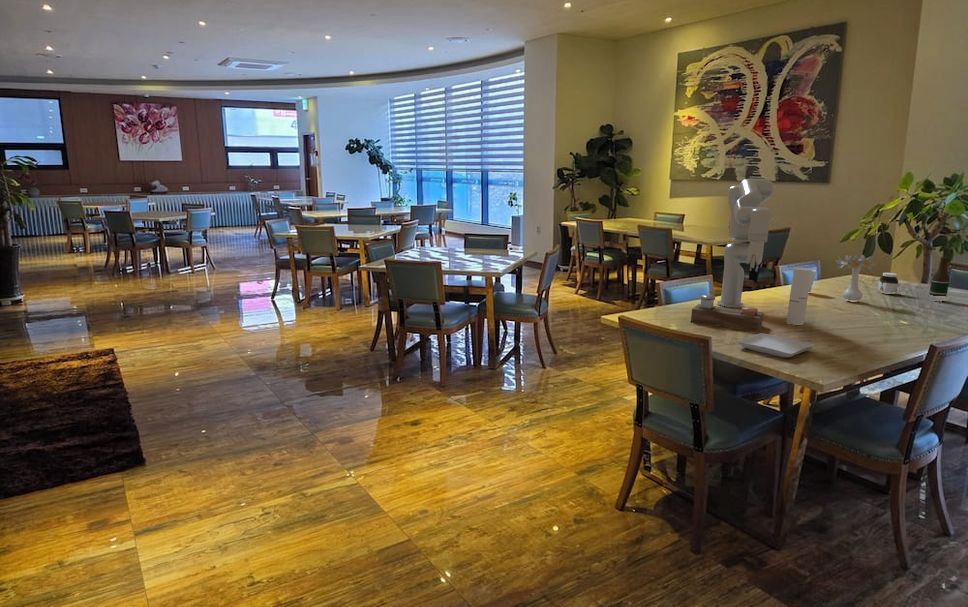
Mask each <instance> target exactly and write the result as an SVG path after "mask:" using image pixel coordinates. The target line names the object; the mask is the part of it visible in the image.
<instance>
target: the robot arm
mask: <svg viewBox="0 0 968 607" xmlns="http://www.w3.org/2000/svg"><path fill="white" fill-rule="evenodd" d="M773 191H774V184H773V182H772V180H770V179H768V178H752V177H751V178H746V179H745V178H744V179H743V180H742V181H740V183H739V184H737V185H731V186H730V187H729V188H728V190H727V202H728V206H729V210H730V215H729V225H728V237H729V238H730V240H733V241H747V242H749V243H744V242H743V243H742V242H732V243H728V244H727V245H725V247H724V250H723V257H724V260H723V261H724V262H723V264H724V268H723V275H722V276H723V277H722V287H721V293H720V294H721V295H720V300H717V302H716V303H717V305H718V306H720V305H721V306H720V307H724V306H725V308H731V307H732V309H738V308H739V309H741V308H742V307H745V304H744V303H743V302H742V294H743V287H744V277H745V270H744V268H743V266H742V265H741V264H743V263H744V264H746V265H749V264H750V265H749V266H750V267H749V274H748V280H749V281H753V282H754V281H755V282H756V281H758V275H759V265H760V264H761V263H762V261H763V256H764V247H765V246H764V245H765V243H767V242H768V236H769V229H770V228H769V227H770V220H771V217H772V216H771V215H772V211H771V210H770V209H769V208H768V207H764V206H762V207H761V206H759V205H761V204H764V203H765V202H767V201H768V199H770V198H771V196H772V194H773V193H774V192H773Z"/></svg>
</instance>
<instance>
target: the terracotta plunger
mask: <svg viewBox="0 0 968 607" xmlns="http://www.w3.org/2000/svg"><path fill="white" fill-rule="evenodd" d="M741 310H742V311H743V314H745V315H752V316H755V314H756V312H758V310H759V309H758V308H757V307H753V306H743V307H741Z"/></svg>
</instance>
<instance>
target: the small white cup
mask: <svg viewBox="0 0 968 607" xmlns="http://www.w3.org/2000/svg"><path fill="white" fill-rule="evenodd" d="M699 299H700V304H701V305H700V309H708V310H712V309H713V306H714V304H715V303H714V302H715V300H716V296H715V295H713V294H700V295H699Z"/></svg>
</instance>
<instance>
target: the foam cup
mask: <svg viewBox="0 0 968 607" xmlns="http://www.w3.org/2000/svg"><path fill="white" fill-rule="evenodd" d="M810 269H811V268H810ZM811 270H812V271H811V278H810V285H809V292H810V293H811V292H812V289H813V285H814V282H815V278H816V275H817V270H816V269H811Z"/></svg>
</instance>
